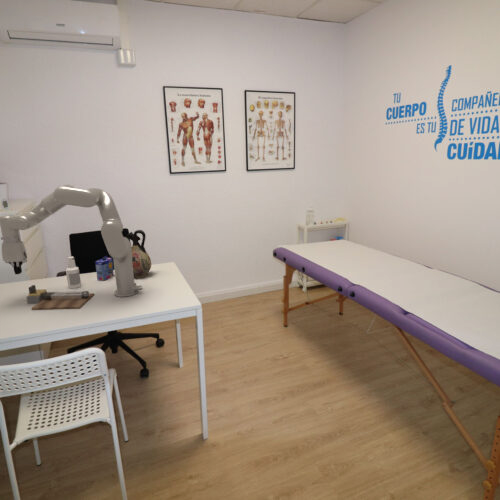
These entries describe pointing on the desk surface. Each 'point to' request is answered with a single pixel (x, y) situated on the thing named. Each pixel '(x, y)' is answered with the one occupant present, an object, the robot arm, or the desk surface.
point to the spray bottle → (72, 274)
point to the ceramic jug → (139, 255)
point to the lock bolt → (35, 291)
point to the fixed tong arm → (64, 293)
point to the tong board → (61, 304)
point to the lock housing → (35, 299)
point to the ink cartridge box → (104, 268)
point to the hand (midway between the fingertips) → (18, 273)
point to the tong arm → (66, 296)
